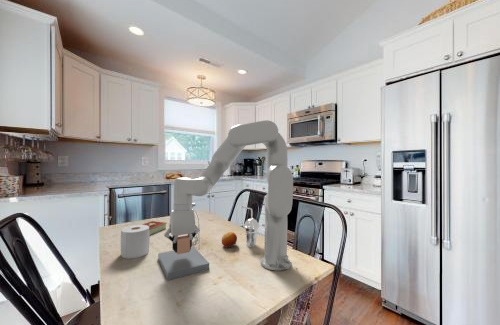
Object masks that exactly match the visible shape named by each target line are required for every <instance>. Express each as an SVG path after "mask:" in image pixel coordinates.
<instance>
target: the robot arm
mask: <svg viewBox="0 0 500 325" xmlns="http://www.w3.org/2000/svg"><path fill="white" fill-rule="evenodd" d="M259 144H263V145H264V146H265V148H266V152H267V153H266V154H267V155H266V156H267V161H266V162H267V163H266V164H267V165H266V176H265V177H266V181H267V182H268V184H267V185H268V187H267V193H266V195H265V197H264V256H263V257H261V259H260V265H261V266H262V267H263V268H265V269H266V270H270V271H277V272H278V271H284V270H289V269H290V267H291V266H292V265H293V262H292V261H291V260H290V258H289V255H288V215H289V214H290V213H291V211H292V207H293V196H294V193H293V192H294V176H293V173H292V171H291V169H290V168H289V166H288V146H287V143H286V141H285V138H284V137H283V136H282V135H281V133H279V127H278V125H277V124H276V123H275V122H274V121H272V120H269V119H268V120H259V121H253V122H248V123H242V124H237V125H234V126H232V127H231V128H230V129H229V130H228V133H227V136H226V138H225V139H224V140H223V142H222V143H221V144H220V145H219V146H218V148H217V149H216V150H215V152H214V153H213V155H212V157H211V160H210V163H209V165H208V166H207V167H206V168H205V170H204V172H203V173H202V174H201V175H200V176H199V177H198V178H191V177H184V176H183V177H176V178H175V179H174V181H173V209H172V210H171V211H170V214H169V215H170V216H169V217H170V218H169V224H168V228H167V229H166V231H165V232H164V234H163V237H165V238H166V239H168V240H169V241H171V242H172V251H175V253H176V252H177V241H176V240H177V237H178V235H185V234H187V235H188V236H189V237H190V250H191V247H193V239H194V238H195V236H196V235H197V234H198V233H199V232H200V231H201V230H200V228H199V227H198V226H197V225H196V216H195V210H194V209H193V208H194V207H196V203H195V202H193V197H204V196H206V195H207V194H208V193H209V192H210V191H212V189H213V188H214V186H216V183H218V181H219V180H221V177H223V175H224V173H225V172H227V170H228V169H229V168H230V167H231V166H232V164H233V163H234V161H235V160H236V159H237V157H238V156H239V155H240V154H241V152H242V151H243V150H244V149H245V147H246V146H251V145H252V146H253V145H259ZM170 234H171V235H170Z"/></svg>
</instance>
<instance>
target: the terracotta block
mask: <svg viewBox="0 0 500 325" xmlns="http://www.w3.org/2000/svg"><path fill="white" fill-rule="evenodd" d="M176 241H177V252H176V253H177V254H182V253H187V252H190V237H189V236H188V234H184V235H178V237H177V240H176Z"/></svg>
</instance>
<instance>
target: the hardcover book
mask: <svg viewBox="0 0 500 325" xmlns="http://www.w3.org/2000/svg"><path fill="white" fill-rule="evenodd" d="M141 225H147V226H149V236H151V235H153V234H156V233H158V232H160V231H162V230H166V228H167V222H165V221H156V220H150V221H148V222H146V223H142V224H141Z"/></svg>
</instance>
